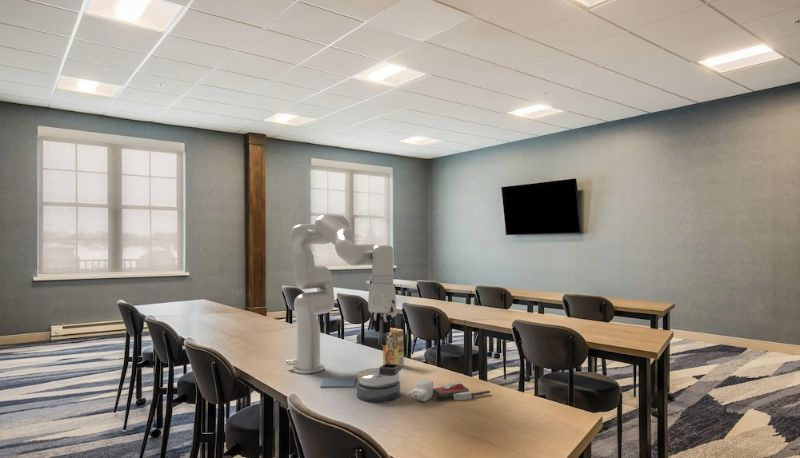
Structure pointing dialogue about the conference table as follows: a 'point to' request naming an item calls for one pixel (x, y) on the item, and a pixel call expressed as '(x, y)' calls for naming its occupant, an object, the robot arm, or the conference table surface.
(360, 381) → the collar
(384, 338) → the chuck key
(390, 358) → the candy box
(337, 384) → the key mat
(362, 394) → the base
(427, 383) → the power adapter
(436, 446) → the conference table surface
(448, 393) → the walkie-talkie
